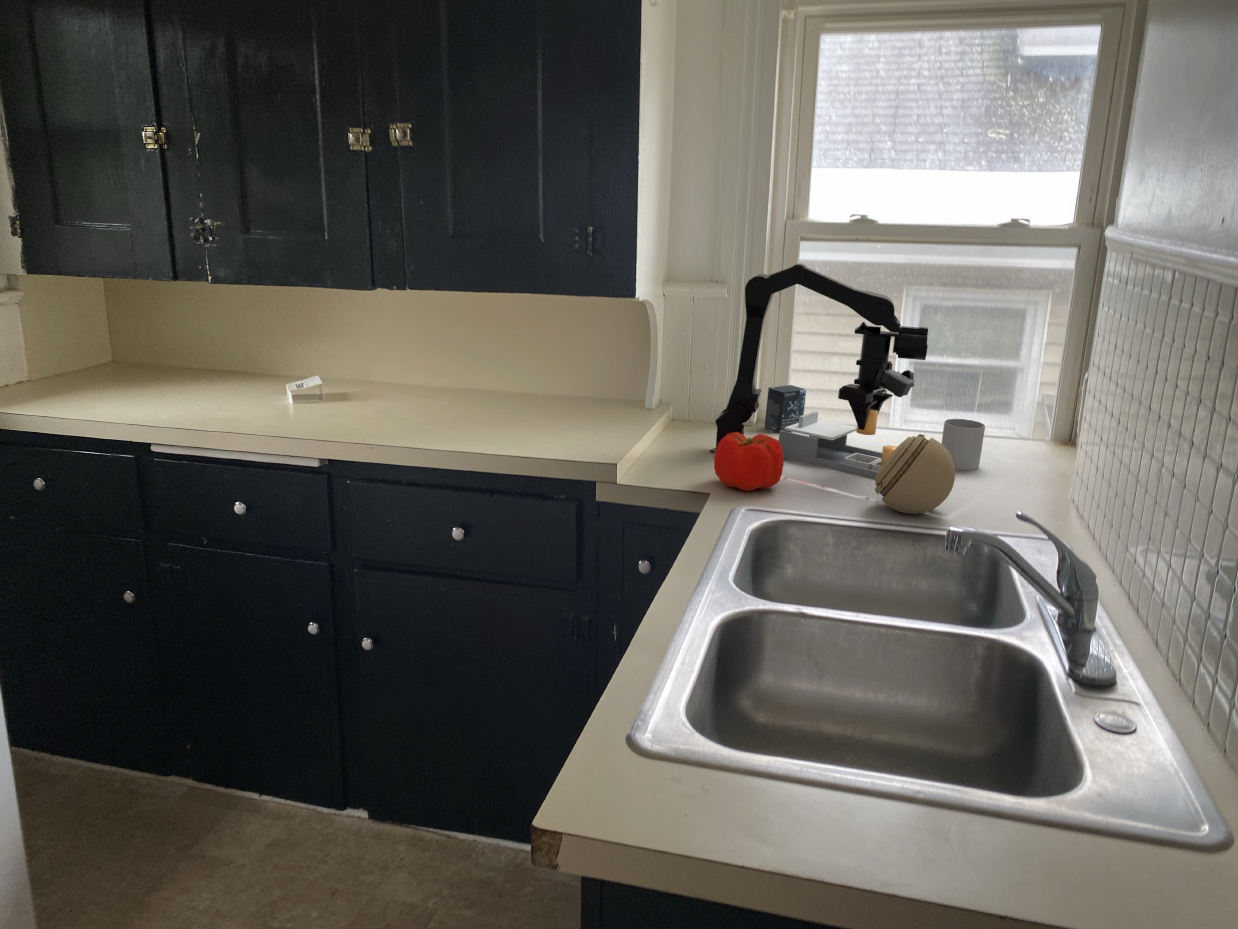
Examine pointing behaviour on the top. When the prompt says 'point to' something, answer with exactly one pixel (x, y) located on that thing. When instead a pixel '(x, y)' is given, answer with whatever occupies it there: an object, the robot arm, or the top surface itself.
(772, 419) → the box
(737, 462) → the tomato
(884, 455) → the orange cylinder
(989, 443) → the top surface
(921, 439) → the mechanical component
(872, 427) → the orange rounded cylinder
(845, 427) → the lid
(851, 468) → the housing
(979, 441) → the cup
